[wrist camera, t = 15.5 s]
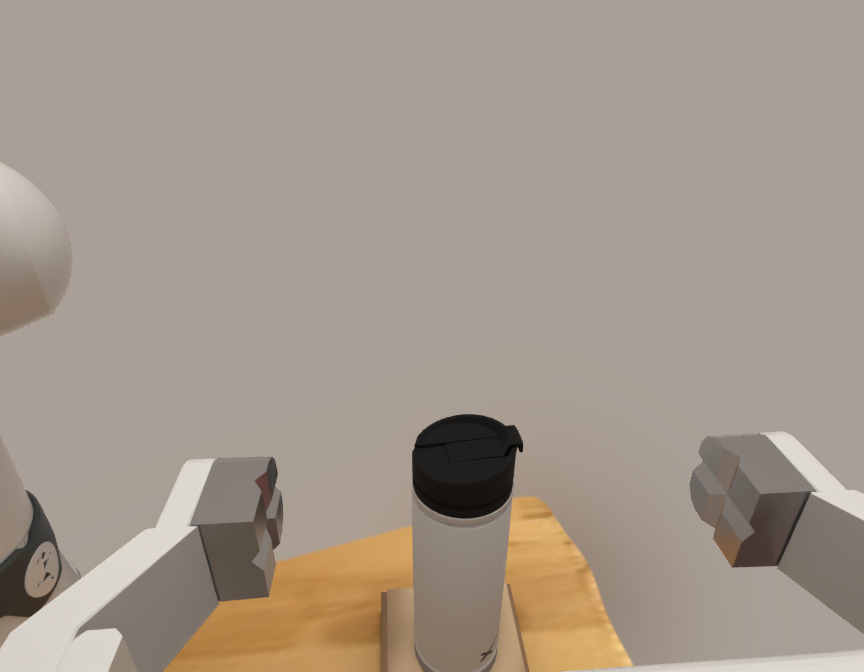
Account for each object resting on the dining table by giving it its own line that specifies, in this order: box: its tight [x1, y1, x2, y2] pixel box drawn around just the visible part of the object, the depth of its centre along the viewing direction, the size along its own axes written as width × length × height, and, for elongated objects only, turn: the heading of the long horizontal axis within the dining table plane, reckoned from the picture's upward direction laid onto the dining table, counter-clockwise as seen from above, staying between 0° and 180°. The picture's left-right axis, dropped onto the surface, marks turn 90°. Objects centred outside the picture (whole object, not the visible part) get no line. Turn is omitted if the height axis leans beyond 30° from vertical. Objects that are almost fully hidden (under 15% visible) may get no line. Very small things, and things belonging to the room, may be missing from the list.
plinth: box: [381, 582, 529, 672], centre depth 44 cm, size 11×11×4 cm
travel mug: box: [412, 414, 523, 672], centre depth 38 cm, size 6×7×20 cm
